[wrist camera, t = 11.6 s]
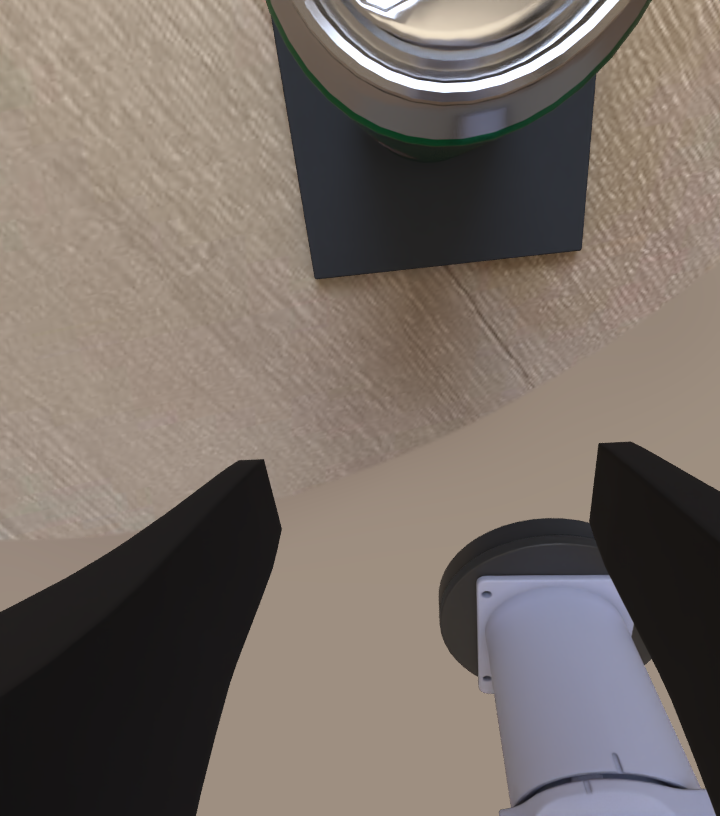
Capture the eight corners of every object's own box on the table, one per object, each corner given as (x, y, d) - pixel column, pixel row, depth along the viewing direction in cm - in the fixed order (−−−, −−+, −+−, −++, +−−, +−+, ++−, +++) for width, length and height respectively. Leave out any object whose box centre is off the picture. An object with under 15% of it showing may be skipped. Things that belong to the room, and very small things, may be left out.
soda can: (328, 27, 15) (90, -369, 4) (485, -70, 13) (779, -1094, 3) (389, 189, 16) (341, 217, 6) (532, 119, 15) (812, -11, 4)
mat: (577, 248, 17) (582, 250, 17) (316, 277, 19) (314, 279, 18) (616, -237, 12) (623, -253, 11) (248, -141, 13) (242, -151, 13)
